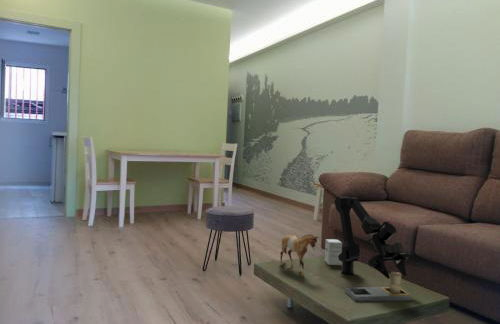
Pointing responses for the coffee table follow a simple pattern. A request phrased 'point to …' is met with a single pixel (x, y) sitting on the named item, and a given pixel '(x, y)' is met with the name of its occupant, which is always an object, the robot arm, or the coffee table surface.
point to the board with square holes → (376, 294)
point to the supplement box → (333, 251)
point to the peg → (395, 283)
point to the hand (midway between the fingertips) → (397, 277)
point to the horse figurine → (297, 247)
